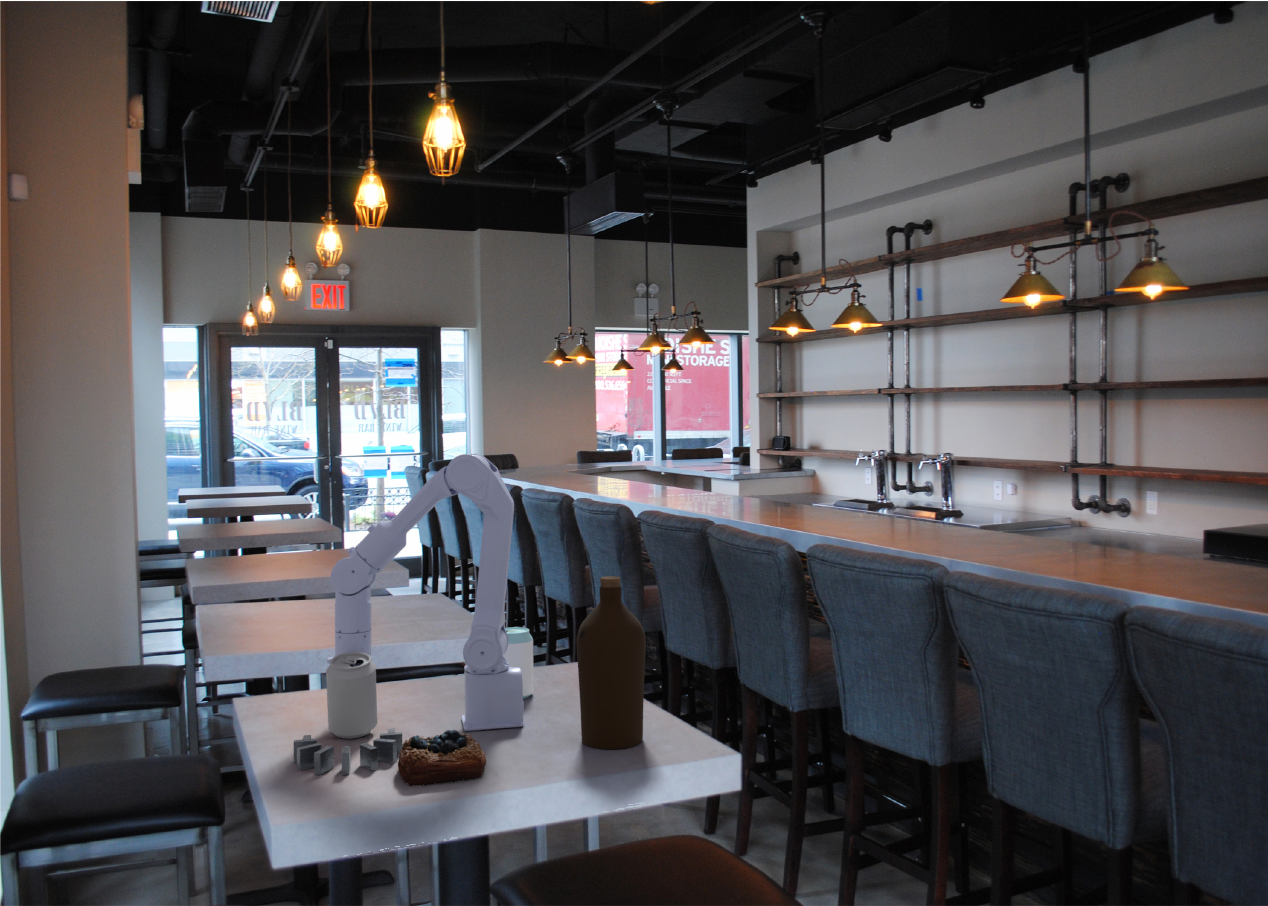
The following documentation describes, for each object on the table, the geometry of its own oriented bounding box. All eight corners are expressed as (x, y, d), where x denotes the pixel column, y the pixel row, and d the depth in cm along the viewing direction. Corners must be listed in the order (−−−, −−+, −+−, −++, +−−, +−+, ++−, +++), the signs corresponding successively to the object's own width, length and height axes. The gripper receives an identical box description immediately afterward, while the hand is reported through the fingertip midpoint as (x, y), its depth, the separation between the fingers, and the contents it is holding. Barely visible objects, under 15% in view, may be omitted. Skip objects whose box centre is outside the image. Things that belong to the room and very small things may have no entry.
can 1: (364, 743, 147) (361, 671, 145) (319, 738, 149) (316, 666, 146) (385, 721, 155) (383, 651, 152) (342, 715, 156) (340, 646, 153)
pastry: (394, 765, 137) (394, 724, 137) (478, 756, 141) (477, 716, 141) (401, 792, 127) (401, 747, 127) (491, 780, 131) (491, 737, 130)
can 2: (499, 703, 169) (498, 635, 169) (490, 693, 175) (489, 628, 175) (538, 698, 171) (537, 631, 171) (527, 689, 178) (527, 625, 178)
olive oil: (625, 755, 140) (623, 584, 139) (564, 745, 145) (562, 580, 145) (658, 735, 149) (657, 575, 149) (600, 726, 154) (598, 571, 154)
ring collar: (402, 747, 144) (402, 727, 144) (401, 770, 134) (401, 748, 134) (296, 756, 141) (296, 735, 141) (287, 779, 131) (287, 757, 131)
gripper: (331, 622, 162) (331, 702, 162) (323, 640, 148) (322, 727, 148) (374, 621, 164) (374, 700, 164) (370, 638, 150) (370, 725, 150)
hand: (353, 713), depth 156 cm, fingers closed
